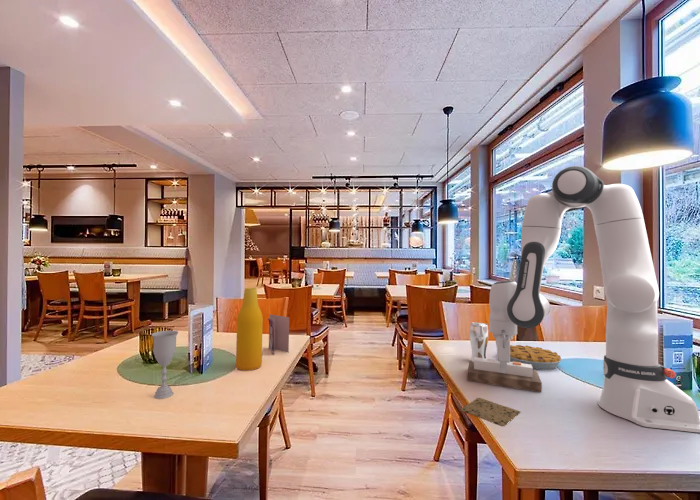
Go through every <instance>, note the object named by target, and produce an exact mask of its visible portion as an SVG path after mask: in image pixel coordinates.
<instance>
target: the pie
mask: <svg viewBox="0 0 700 500" xmlns="http://www.w3.org/2000/svg"><path fill="white" fill-rule="evenodd" d="M513 361H514V362H521V363H524V364H531V365H532V367H533V370H541V371H542V370H544V371H545V370H546V371H547V370H555V369H557V367H558V365H559V364H560V363H561V362H562V357H561V355H558V353H557V352H555V351H554V352H553V351H552V350H550V349H546V348H545V349H543V347H538V346H536V347H535V346H530V345H525V346H524V345H520V344H517V345H512V344H510V362H513Z"/></svg>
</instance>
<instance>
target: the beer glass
mask: <svg viewBox="0 0 700 500" xmlns="http://www.w3.org/2000/svg"><path fill="white" fill-rule="evenodd" d="M469 326H470V327H469V328H470V329H469V338H470V339H469V340H470V346H471V355H470V356H471V357H470V362H474V358H475V357H477V358H485V359H487V347H488V342H489V324H488V323H483V322H470V325H469Z"/></svg>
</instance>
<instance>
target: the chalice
mask: <svg viewBox="0 0 700 500" xmlns="http://www.w3.org/2000/svg"><path fill="white" fill-rule="evenodd" d="M178 334H179V331H178V330H160V331H156V332H153V333H152V334H151V336H152V338H153V350H152V352H153V354H154V357H155V360H156V361H157V363H158V365H159V366H161V367H162V371H160V373H161V374H162V377H161V378H160V380H161V385H160V386H158V387H157V388H156V391H155V392H154V395H153V398H154V399H157V400H161V399H167V398H169V397H171V396H173V395H174V392H173V389H172V387H171V386H170V385H167V383H166V381H167V379H168V377H167V373H168V370H167V365H170V364H171V362H172V360H173V358H174V355H175V352H176V350H177V336H178Z"/></svg>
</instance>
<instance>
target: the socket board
mask: <svg viewBox="0 0 700 500" xmlns="http://www.w3.org/2000/svg"><path fill="white" fill-rule="evenodd" d="M466 375H467V377H466V378H467V379H466V381H468V382H474V383H480V384H487V385H492V386H499V387H504V388H505V387H506V388H512V389H519V390H525V391H531V392H538V393H542V391H543V390H542V386H543V385H542V383H543V382H542V381H541V378H540V376H539V373H538V370H537V369H533V377H527V376H520V375H513V374H506V373H498V372H491V371H484V370H477V369H474V362H472V361H469V362H468V365H467V373H466Z"/></svg>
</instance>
